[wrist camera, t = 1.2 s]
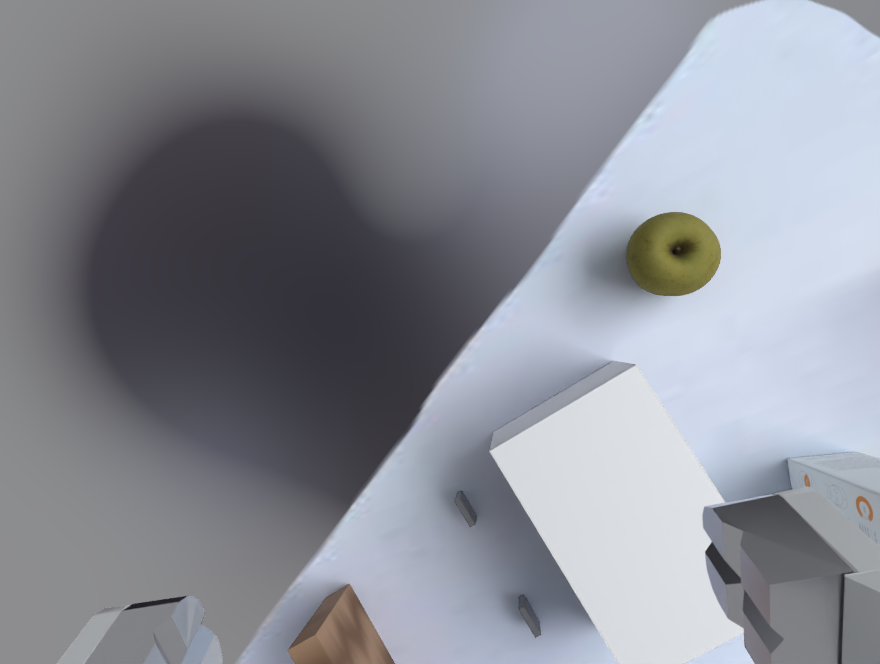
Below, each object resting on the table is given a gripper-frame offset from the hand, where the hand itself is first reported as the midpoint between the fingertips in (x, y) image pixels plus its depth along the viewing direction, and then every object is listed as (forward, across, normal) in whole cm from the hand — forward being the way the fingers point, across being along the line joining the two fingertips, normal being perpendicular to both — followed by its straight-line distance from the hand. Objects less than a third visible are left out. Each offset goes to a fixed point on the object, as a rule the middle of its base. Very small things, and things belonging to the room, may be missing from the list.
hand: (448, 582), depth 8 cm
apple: (+46, +20, -9) cm, 51 cm away
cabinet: (+38, +8, -30) cm, 49 cm away
